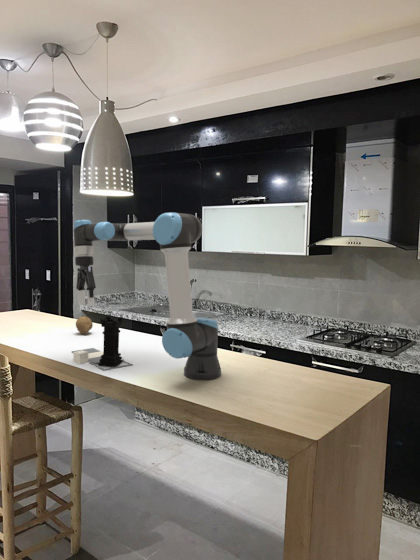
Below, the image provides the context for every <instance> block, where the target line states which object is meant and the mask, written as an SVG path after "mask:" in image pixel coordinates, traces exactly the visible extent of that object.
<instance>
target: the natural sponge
mask: <svg viewBox="0 0 420 560" xmlns="http://www.w3.org/2000/svg"><path fill="white" fill-rule="evenodd" d="M75 326H76V329H77V331H78V333H80V334H81V335H86V334H87V333H89V331H91V330H92V329H93V326H94V325H93V322H92V319H91V318H89V317H87V316H85V315H84V316H79V318H78V319H76V322H75Z"/></svg>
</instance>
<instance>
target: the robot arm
mask: <svg viewBox="0 0 420 560" xmlns="http://www.w3.org/2000/svg"><path fill="white" fill-rule="evenodd" d="M72 231H73V241H74V248H73V251H74V255H75V258H74V260H75V262H74V264H75V266H76V267H77V266H78V268H77V276H76V287H75V288H76V290H77V295H78V306H86V298H87V307H91V306H93V307H94V306H95V305H96V304H95V289H96V288H97V287H96V282H95V276H94V271H93V266H94V256H93V255H94V247H93V242H101V241H103V242H104V241H106V242H107V241H108V242H109V241H110V242H113V241H115V242H117V241H119V242H120V241H121V242H127V241H143V240H144V241H151V240H152V241H153V240H155V241H156V242H157V243H158V244H159V247H160V248H159V249H160V251H161V252H162V253H163V254H164V258H165V259H164V260H165V272H166V283H167V293H168V294H167V297H168V305H169V319H168V320H167V322H166V329H167V330H165V331H164V332H163V334H162V336H161V342H162V343H161V345H162V347H163V349H164V351H165V352H166V353H167V354H168V355H169V356H170V357H171V358H174V359H183V358H187V359H186V363H185V366H184V367H183V375H184V377H187V378H188V379H193V380H198V381H201V380H202V381H207V380H214V379H218V378H220V377H221V375H222V368H221V365H220V364H221V363H220V361H219V358H218V343H219V342H218V339H219V338H218V337H219V335H218V334H219V325H218V324H219V323H218V321H217V320H216V319H213V318H206V317H195V316H194V312H193V301H192V300H193V299H192V289H191V277H190V274H191V273H190V266H189V265H190V264H189V251H190V250H191V249H192V244H193V243H195V242H197V241H198V240H199V239H200V238H201V236H202V234H203V225H202V222H201V220H200V219H199V218H198V217H197V216H195V215H193V214H191V213H181V212H171V211H170V212H164V213H162V214H160V215H158V217H157V218H156V219H155V221H148V222H147V221H145V222H131V223H130V222H129V223H128V222H127V223H125V222H124V223H111V222H109V221H100V222H95V223H92V221H91V220H89V219H78V220H75V221H73V230H72ZM85 284H86V285H85ZM85 286H86V288H85ZM86 292H87V293H86ZM85 293H86V294H85ZM86 296H87V297H86Z"/></svg>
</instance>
